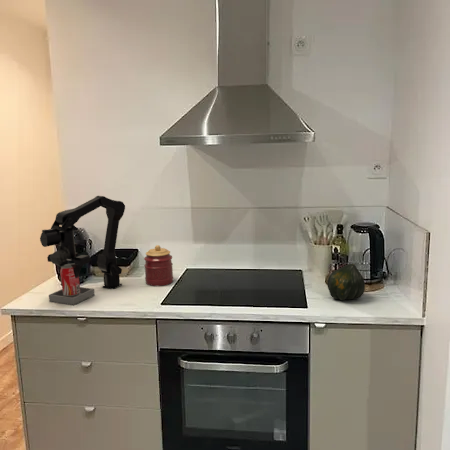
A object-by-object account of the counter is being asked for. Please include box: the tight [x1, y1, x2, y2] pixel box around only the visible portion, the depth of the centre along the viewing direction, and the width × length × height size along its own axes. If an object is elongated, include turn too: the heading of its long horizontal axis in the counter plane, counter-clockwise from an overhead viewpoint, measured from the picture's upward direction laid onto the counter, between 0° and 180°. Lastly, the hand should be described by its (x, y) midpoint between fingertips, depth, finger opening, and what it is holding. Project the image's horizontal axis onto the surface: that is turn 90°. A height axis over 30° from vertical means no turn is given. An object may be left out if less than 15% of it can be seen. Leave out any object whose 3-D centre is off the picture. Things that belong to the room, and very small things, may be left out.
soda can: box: [59, 263, 81, 297], centre depth 200 cm, size 7×7×13 cm
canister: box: [143, 244, 174, 287], centre depth 220 cm, size 13×13×18 cm
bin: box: [48, 286, 95, 306], centre depth 202 cm, size 13×13×3 cm
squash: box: [327, 263, 366, 301], centre depth 193 cm, size 14×15×15 cm
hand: (70, 278), depth 200 cm, fingers closed on soda can, 5 cm apart
